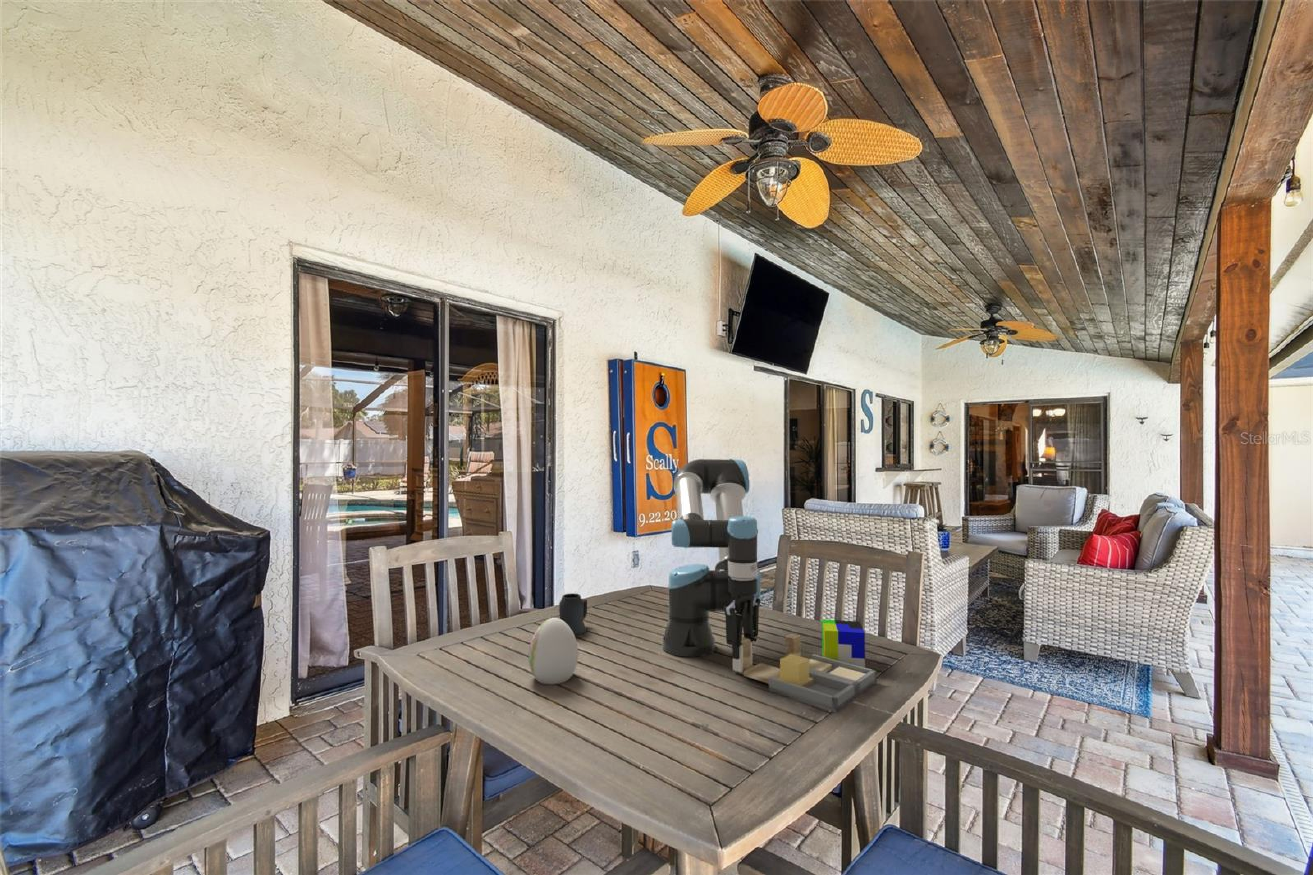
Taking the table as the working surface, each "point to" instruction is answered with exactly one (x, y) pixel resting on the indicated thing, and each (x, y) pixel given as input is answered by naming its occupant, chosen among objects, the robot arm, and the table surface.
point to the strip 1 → (761, 667)
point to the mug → (573, 612)
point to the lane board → (828, 685)
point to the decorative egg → (553, 652)
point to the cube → (794, 669)
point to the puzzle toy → (843, 641)
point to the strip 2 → (795, 648)
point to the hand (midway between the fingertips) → (742, 668)
